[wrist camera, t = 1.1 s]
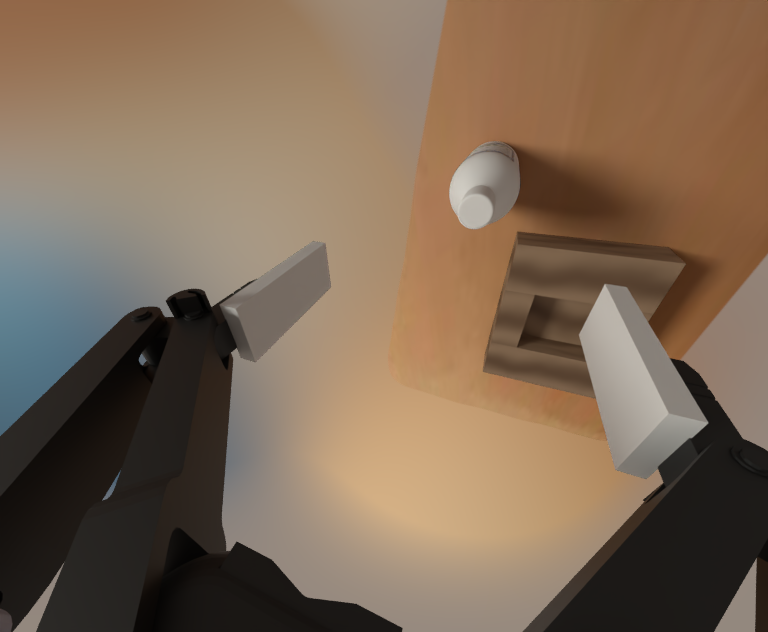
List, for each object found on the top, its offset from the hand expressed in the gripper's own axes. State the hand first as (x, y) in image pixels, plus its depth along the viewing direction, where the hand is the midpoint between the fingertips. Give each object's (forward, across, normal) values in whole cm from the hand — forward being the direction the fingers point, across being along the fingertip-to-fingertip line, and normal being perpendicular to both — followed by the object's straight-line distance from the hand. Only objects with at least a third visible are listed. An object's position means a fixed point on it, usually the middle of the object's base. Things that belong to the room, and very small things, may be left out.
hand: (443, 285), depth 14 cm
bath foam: (+33, 0, 0) cm, 33 cm away
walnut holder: (+32, +14, -20) cm, 41 cm away
